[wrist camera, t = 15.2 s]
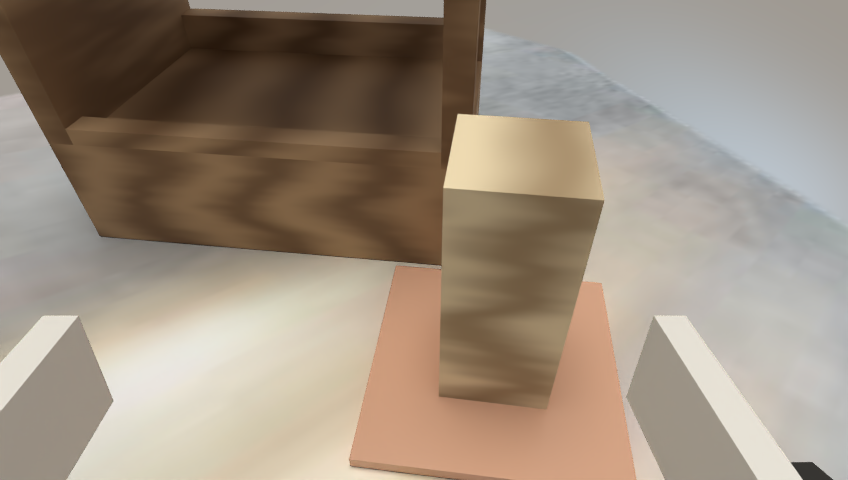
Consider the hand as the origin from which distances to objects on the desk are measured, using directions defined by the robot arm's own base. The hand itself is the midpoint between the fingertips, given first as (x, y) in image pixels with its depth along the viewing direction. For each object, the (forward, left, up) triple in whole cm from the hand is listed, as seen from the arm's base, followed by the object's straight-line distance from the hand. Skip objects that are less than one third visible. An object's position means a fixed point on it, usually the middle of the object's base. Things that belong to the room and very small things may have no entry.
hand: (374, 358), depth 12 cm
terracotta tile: (+4, +9, -12) cm, 15 cm away
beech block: (+4, +9, -11) cm, 15 cm away
